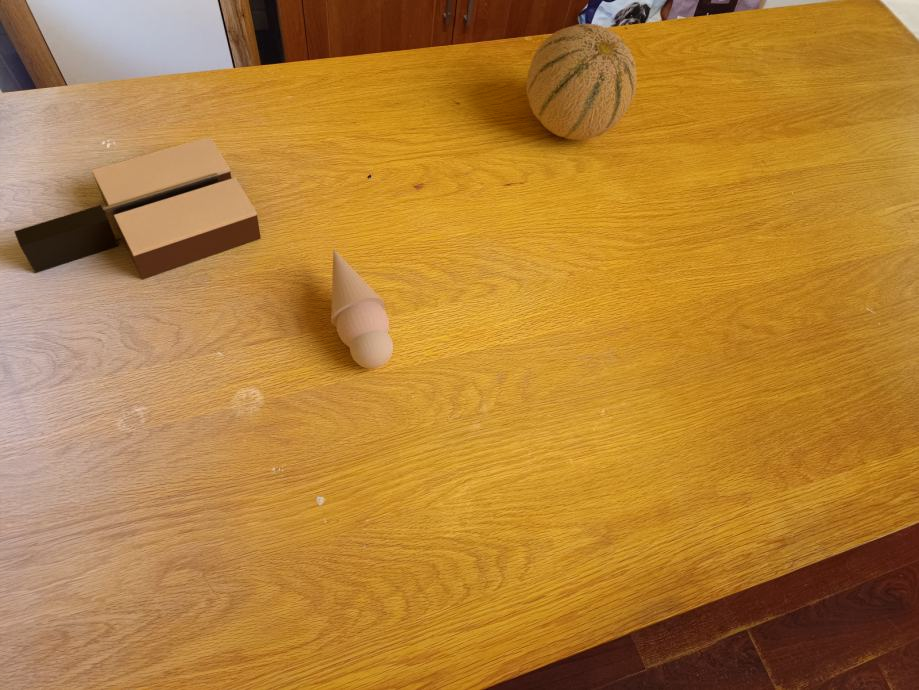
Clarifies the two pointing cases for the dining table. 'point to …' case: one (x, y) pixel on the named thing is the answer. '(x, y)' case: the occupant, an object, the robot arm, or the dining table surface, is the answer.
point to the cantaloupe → (581, 81)
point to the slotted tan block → (178, 207)
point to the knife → (89, 228)
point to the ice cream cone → (359, 316)
